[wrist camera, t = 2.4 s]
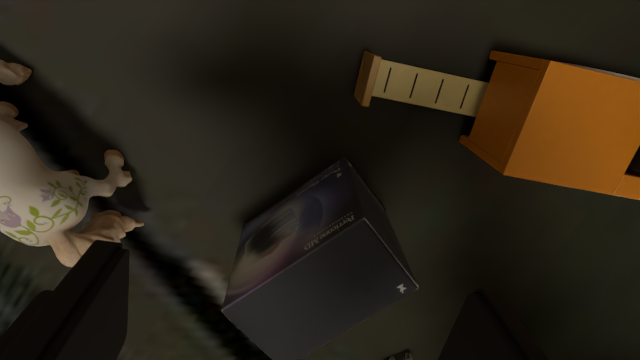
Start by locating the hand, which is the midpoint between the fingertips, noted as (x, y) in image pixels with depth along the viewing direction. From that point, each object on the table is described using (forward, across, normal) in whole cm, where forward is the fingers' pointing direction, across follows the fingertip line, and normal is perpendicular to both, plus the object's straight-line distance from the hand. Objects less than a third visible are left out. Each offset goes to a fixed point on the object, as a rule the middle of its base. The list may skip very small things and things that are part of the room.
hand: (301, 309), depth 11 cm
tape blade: (+20, -10, -4) cm, 23 cm away
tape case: (+20, -19, -4) cm, 28 cm away
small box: (+20, -3, +8) cm, 22 cm away
